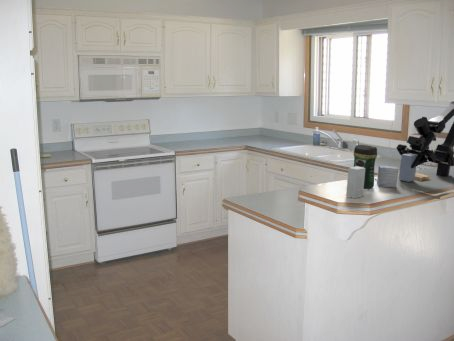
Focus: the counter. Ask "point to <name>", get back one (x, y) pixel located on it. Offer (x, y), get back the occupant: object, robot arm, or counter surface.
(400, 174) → the slate block
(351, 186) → the skincare box
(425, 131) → the robot arm
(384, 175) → the medicine box
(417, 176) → the top slab
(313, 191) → the counter surface
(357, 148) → the coffee jar
